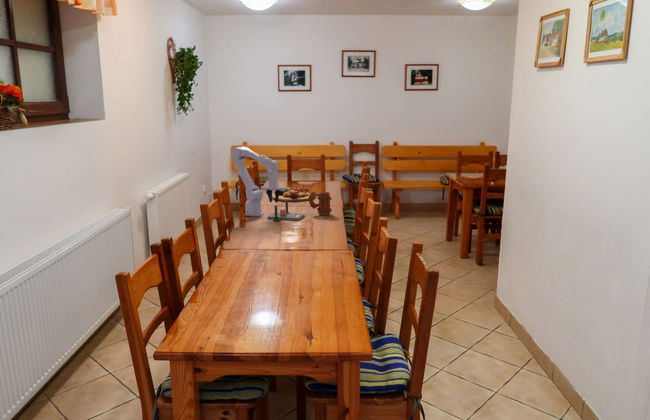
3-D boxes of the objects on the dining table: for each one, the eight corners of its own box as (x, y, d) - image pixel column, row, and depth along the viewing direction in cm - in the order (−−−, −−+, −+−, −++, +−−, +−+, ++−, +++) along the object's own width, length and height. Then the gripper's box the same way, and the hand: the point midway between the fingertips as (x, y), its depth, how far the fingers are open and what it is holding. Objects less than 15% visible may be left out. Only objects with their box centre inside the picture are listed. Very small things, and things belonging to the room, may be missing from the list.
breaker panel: (267, 218, 311) (267, 216, 311) (274, 214, 322) (274, 212, 322) (298, 220, 305) (298, 218, 305) (304, 216, 317) (304, 214, 316)
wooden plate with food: (309, 203, 359) (309, 191, 358) (266, 201, 365) (266, 189, 364) (319, 195, 390) (319, 185, 388) (279, 194, 396) (279, 183, 395)
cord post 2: (282, 214, 322) (282, 200, 320) (285, 213, 325) (284, 199, 324) (288, 215, 321) (288, 201, 319) (291, 213, 324) (290, 200, 322)
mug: (332, 213, 324) (332, 190, 321) (331, 216, 316) (331, 192, 313) (309, 213, 326) (309, 190, 322) (308, 216, 318) (307, 192, 314)
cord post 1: (271, 221, 305) (271, 206, 303) (274, 219, 309) (274, 205, 307) (278, 221, 304) (277, 206, 302) (280, 220, 307) (280, 205, 306)
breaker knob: (280, 215, 313) (279, 209, 312) (281, 214, 316) (281, 208, 315) (284, 215, 312) (284, 210, 311) (286, 214, 315) (286, 209, 314)
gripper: (259, 180, 309) (260, 202, 312) (281, 181, 305) (282, 203, 308) (264, 179, 316) (264, 200, 319) (286, 179, 312) (286, 201, 315)
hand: (273, 202), depth 314 cm, fingers open, 3 cm apart
